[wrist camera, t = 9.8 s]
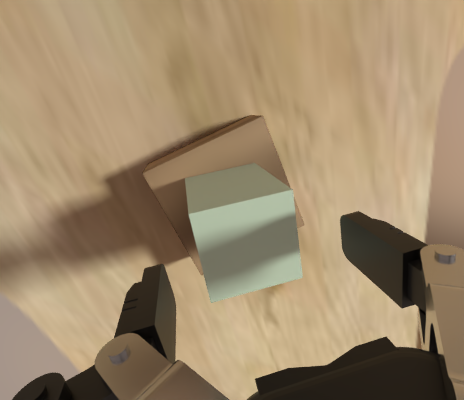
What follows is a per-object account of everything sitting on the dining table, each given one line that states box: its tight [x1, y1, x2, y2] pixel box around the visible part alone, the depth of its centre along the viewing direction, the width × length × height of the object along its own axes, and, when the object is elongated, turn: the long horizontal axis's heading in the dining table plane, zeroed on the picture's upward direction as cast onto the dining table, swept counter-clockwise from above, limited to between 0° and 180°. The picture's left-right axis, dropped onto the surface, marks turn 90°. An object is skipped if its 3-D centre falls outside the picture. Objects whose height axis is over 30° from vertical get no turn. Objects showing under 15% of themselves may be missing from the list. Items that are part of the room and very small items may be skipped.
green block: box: [185, 163, 303, 303], centre depth 17 cm, size 5×5×7 cm
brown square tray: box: [142, 115, 304, 275], centre depth 22 cm, size 9×9×4 cm
